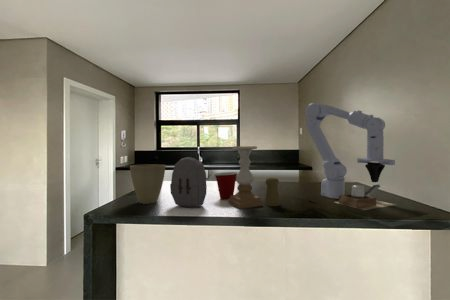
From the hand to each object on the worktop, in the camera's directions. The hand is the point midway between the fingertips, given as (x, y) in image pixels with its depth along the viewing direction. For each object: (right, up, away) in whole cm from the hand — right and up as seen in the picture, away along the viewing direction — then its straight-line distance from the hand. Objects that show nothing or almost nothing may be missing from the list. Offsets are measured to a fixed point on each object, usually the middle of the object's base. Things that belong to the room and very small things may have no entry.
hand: (374, 182), depth 104 cm
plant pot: (-93, -10, +10) cm, 94 cm away
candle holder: (-52, -10, +3) cm, 53 cm away
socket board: (-5, -9, -2) cm, 11 cm away
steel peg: (-9, -8, -3) cm, 12 cm away
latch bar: (-1, -5, +2) cm, 5 cm away
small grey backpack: (-74, -10, 0) cm, 75 cm away
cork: (-40, -10, +3) cm, 42 cm away
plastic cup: (-59, -10, +15) cm, 62 cm away
